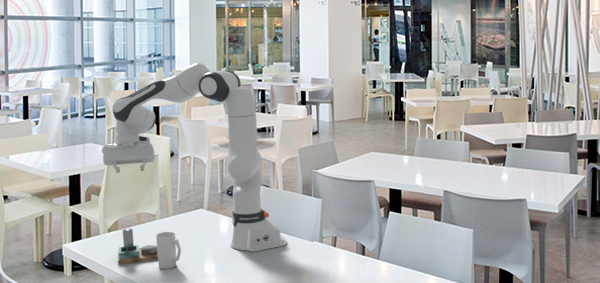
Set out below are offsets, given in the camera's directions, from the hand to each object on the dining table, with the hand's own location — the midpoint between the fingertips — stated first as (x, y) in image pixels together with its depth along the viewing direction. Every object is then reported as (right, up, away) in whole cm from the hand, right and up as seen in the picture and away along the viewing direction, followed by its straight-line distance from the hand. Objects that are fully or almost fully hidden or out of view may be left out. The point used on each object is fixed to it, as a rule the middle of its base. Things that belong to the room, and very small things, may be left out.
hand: (130, 171), depth 228 cm
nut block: (+6, -33, -8) cm, 34 cm away
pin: (+3, -32, -11) cm, 33 cm away
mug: (+21, -34, -20) cm, 45 cm away
